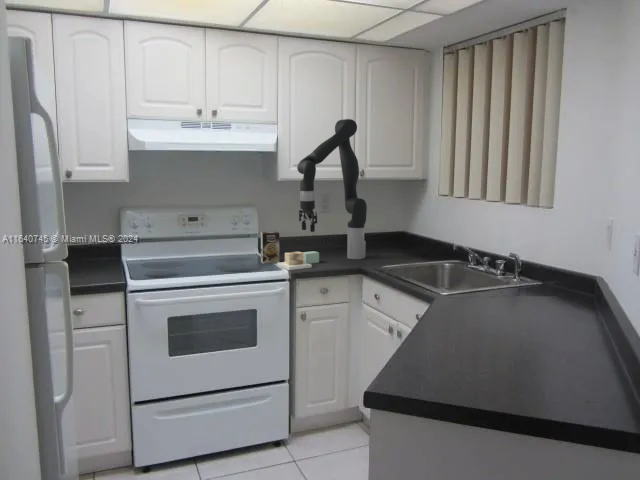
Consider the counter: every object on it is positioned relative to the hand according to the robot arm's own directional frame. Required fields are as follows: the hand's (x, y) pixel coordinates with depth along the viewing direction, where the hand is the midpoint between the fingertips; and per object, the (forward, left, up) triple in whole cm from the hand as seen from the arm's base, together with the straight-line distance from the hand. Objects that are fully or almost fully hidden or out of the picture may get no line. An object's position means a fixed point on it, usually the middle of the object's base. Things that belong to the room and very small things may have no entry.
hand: (308, 230), depth 275 cm
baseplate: (+10, +4, -17) cm, 20 cm away
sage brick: (-2, -1, -17) cm, 18 cm away
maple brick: (+10, +4, -16) cm, 19 cm away
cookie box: (+16, -12, -17) cm, 27 cm away
